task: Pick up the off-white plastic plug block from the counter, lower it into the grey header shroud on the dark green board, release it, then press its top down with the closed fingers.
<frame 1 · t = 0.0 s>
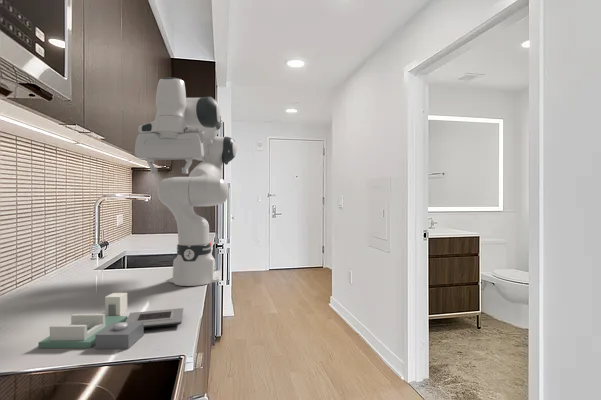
hand: (169, 173, 107), 39 cm above the countertop, tool pointing down, fingers open, 8 cm apart
plug: (116, 312, 97), on the countertop
grey push button: (120, 341, 78), on the countertop
board: (87, 333, 83), on the countertop
electrical outlet: (155, 325, 89), on the countertop
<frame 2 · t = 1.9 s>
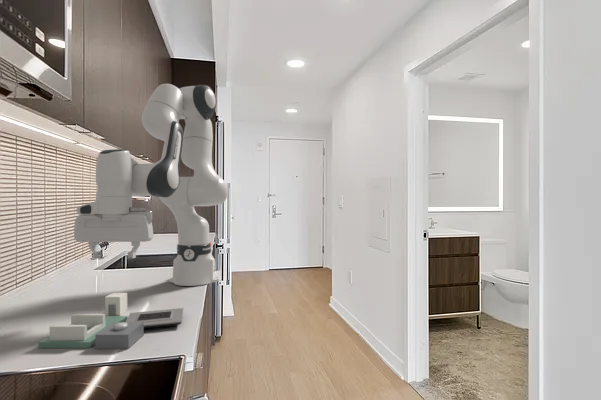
hand: (114, 258, 96), 15 cm above the countertop, tool pointing down, fingers open, 8 cm apart
nothing on the countertop moved.
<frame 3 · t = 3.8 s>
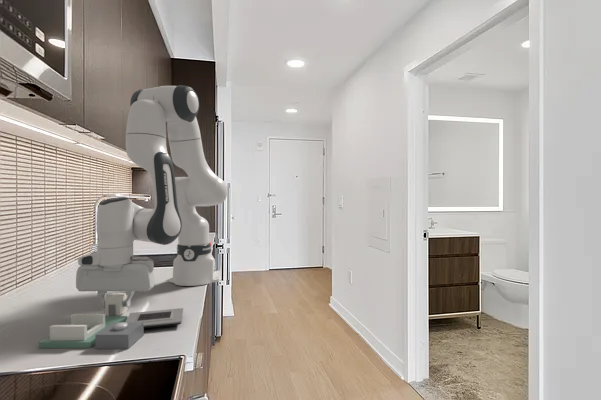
hand: (116, 306, 97), 2 cm above the countertop, tool pointing down, fingers closed on plug, 4 cm apart
plug: (116, 312, 97), on the countertop, touching gripper
everything else where it was.
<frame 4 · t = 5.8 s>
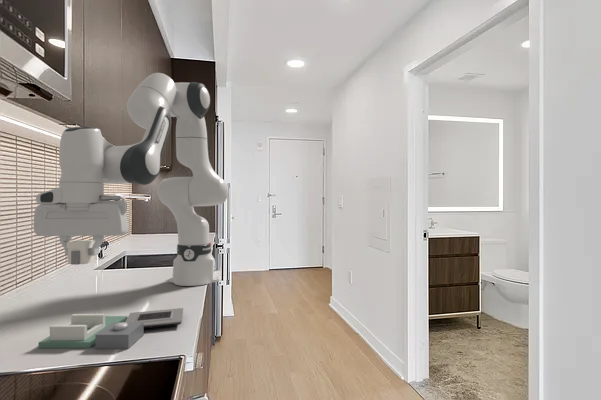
hand: (81, 255, 81), 19 cm above the countertop, tool pointing down, fingers closed on plug, 4 cm apart
plug: (81, 262, 81), point 17 cm above the countertop, touching gripper
everything else where it was.
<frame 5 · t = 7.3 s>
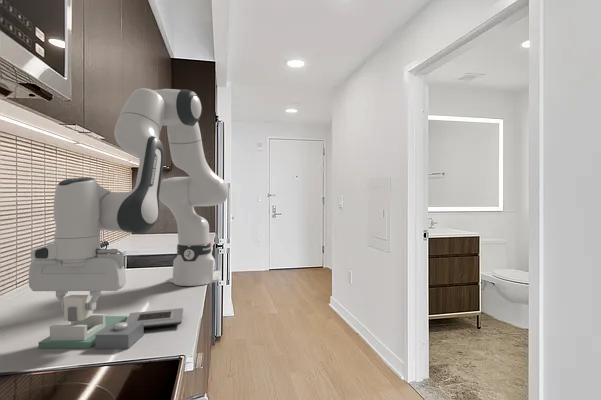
hand: (79, 309, 80), 6 cm above the countertop, tool pointing down, fingers closed on plug, 4 cm apart
plug: (78, 317, 80), point 5 cm above the countertop, touching gripper
everything else where it was.
when the fingers open (4 cm above the countertop, at t = 8.1 s): plug stays where it is, resting on board.
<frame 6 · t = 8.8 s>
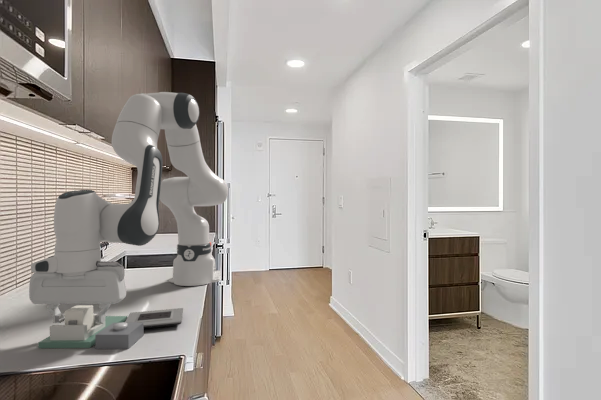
hand: (79, 322, 80), 4 cm above the countertop, tool pointing down, fingers open, 8 cm apart
plug: (79, 330, 80), point 2 cm above the countertop, touching board
everything else where it was.
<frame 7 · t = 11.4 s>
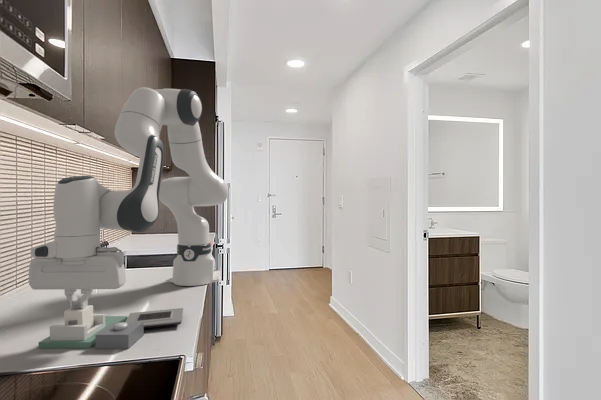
hand: (79, 308, 80), 7 cm above the countertop, tool pointing down, fingers closed, pressing on plug
plug: (79, 330, 80), point 2 cm above the countertop, touching board, gripper
everything else where it was.
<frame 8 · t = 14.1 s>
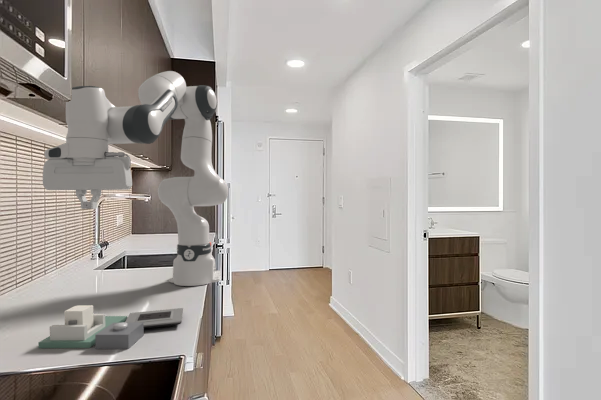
hand: (88, 208, 86), 29 cm above the countertop, tool pointing down, fingers closed
plug: (79, 330, 80), point 2 cm above the countertop, touching board
everything else where it was.
at the end: plug 0.2 cm from the target spot on the board, point 1.8 cm above the board's base; plug tilted 0°; the gripper is holding nothing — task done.
